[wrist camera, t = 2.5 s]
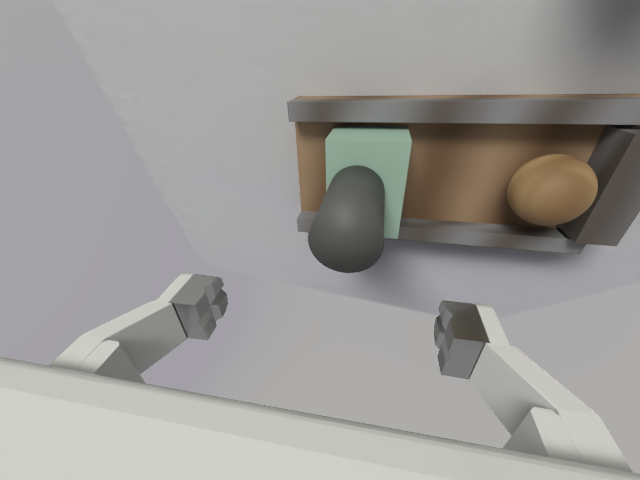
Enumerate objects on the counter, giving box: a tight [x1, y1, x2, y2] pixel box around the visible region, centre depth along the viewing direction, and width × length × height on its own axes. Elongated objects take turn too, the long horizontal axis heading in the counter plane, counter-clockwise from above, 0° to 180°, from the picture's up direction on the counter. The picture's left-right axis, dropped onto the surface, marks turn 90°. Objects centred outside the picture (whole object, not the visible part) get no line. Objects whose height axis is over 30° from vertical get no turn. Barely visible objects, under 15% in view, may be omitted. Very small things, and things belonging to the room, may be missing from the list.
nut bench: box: [287, 94, 640, 254], centre depth 20 cm, size 22×10×4 cm, turn 91°
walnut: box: [507, 154, 598, 225], centre depth 18 cm, size 4×4×4 cm
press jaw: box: [308, 126, 412, 273], centre depth 17 cm, size 5×7×10 cm
